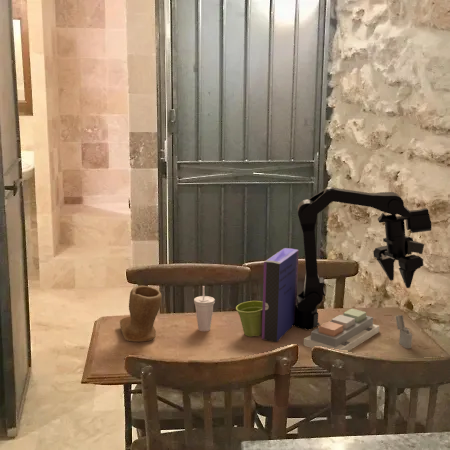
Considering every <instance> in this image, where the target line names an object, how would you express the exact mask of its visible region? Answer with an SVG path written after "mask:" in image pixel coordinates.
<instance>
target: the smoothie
mask: <svg viewBox="0 0 450 450" xmlns="http://www.w3.org/2000/svg"><path fill="white" fill-rule="evenodd" d="M193 303H194V306H195V307H194V308H195V314H196V321H197V323H196V324H197V329H198V331H200V332H208V331H210V330H211V325H212V319H213V312H214V304H215V303H216V299H215V298H214V297H212V296H208V295H206V294H205V285H202V295H200V296H196V297H194V299H193Z"/></svg>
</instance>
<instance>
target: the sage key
mask: <svg viewBox="0 0 450 450" xmlns="http://www.w3.org/2000/svg"><path fill="white" fill-rule="evenodd" d="M342 315H343V316H347V317H351V318H355V322H357V323H359V322H361V321H362V320H364V319H366V316H367V312H366V311H364V310H363V311H362V310H359V309H356V308H350V309H348V310H346V311H345V312H343V314H342Z"/></svg>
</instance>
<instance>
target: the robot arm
mask: <svg viewBox="0 0 450 450" xmlns="http://www.w3.org/2000/svg"><path fill="white" fill-rule="evenodd" d="M333 202H335V203H341V204H347V205H355V206H363V207H369V208H373V209H375V210H378V211H380V212H382V213H381V215H380V216H378V217H377V221H378V223H382V224H383V223H384V231H385V237H383V243H386V245H383V246H379V247H375V249H374V250H373V251H372V252H373V253H372V254H373V258H376V262H378V264H379V265H380V268H382V270H383V271H384V273H385V274H386V277H387V278H388V279H389V281H394V279H395V277H394V276H395V264H394V263H395V262H396V261H398V266H399V268H398V270H399V272H400V275H401V278H402V280H403V283H404V286H405V288H406V289H410V288H411V286H412V282H413V279H414V275H415V273H416V271H418V269H420V268H421V267H423V266H424V259H423V258H422V257H421V256H419V255H423V251H424V248H425V243H422V242H420V241H415V240H414V239H413V238H414V237H411V236H407V235H406V230H407V231H410V233H411V234H415V233H424V232H432V229H433V228H432V220H431V217H430V212H429V211H430V210H429V209H428V208H427V207H426V208H421V209H414V210H413V209H412V210H410V209H409V208H408V207H407V206H405V203H404V200H403V198H402V197H401V196H400V195H399V193H396V192H394V191H388V192H387V191H383V192H373V193H371V192H365V191H358V190H357V191H356V190H350V189H343V188H337V187H334V186H328V187H326V188H324V189H323V190H322V191H320V192H318V193H316V194H314V195H313V196H311V197H310V198H309V199H303V200H301V201H299V203H298V205H297V216H298V219H299V223H300V227H301V231H302V236H303V238H302V239H303V248H304V249H303V252H304V265H305V278H304V284H303V285H304V286H303V290H302V291H301V292H300V293H299V294H298V293H297V303H296V305H295V323H294V324H293V326H292V327H295V328H300V329H302V330H306V331H310V330H312V329H314V328H316V327H319V326H320V322H319V312H318V307H317V306H318V305H320V304H321V303H322V302H323V300H324V299H323V298H324V296H326V292H325V278H324V277H323V276H321V277H319V274H318V273H319V272H318V260H317V246H316V245H317V244H316V242H317V241H316V226H317V218H318V214H319V213H321V212H322V211H323V210H324V209H325V208H327V207H328V206H329V205H330V204H332V203H333ZM385 213H386V214H385ZM398 215H399V216H398ZM405 226H406V227H405ZM413 253H417V254H419V255H416V254H413Z"/></svg>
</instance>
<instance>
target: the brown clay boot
mask: <svg viewBox="0 0 450 450" xmlns="http://www.w3.org/2000/svg"><path fill="white" fill-rule="evenodd" d="M162 295H163V294H162V293H161V291H160V290H158V289H157V288H155V287H152V286H148V285H138V286H134V287H133V288H132V289H131V291H130V292H129V299H128V310H129V311H128V312H129V316H126V317H123V318H122V319H120V321H119V327H120V330H121V334H122V336H123V338H124V339H125V340H126V341H128V342H131V343H132V342H133V343H142V342H143V343H144V342H149V341H153V340H155V338H156V336H157V332H156V328H155V326H154V325H155V321H156V317H157V316H158V314H159V311H160V308H161V306H162V305H161V304H162Z"/></svg>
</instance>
